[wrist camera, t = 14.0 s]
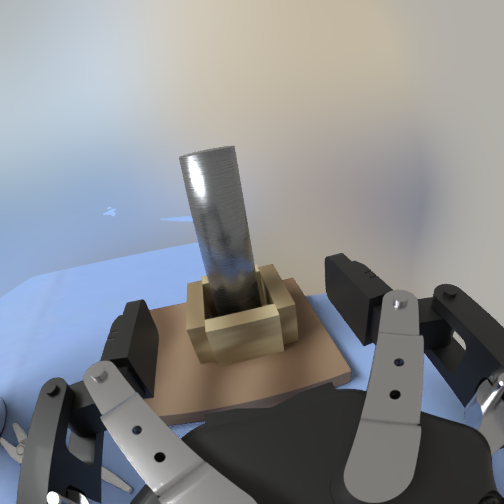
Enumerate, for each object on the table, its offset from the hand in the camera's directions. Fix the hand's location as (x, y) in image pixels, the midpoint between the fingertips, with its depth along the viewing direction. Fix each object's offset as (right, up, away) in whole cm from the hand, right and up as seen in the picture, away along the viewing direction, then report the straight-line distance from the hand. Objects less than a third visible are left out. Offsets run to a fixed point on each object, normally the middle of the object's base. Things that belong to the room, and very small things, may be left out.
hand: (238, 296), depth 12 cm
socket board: (-3, -8, +13) cm, 16 cm away
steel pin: (0, -5, +14) cm, 15 cm away
